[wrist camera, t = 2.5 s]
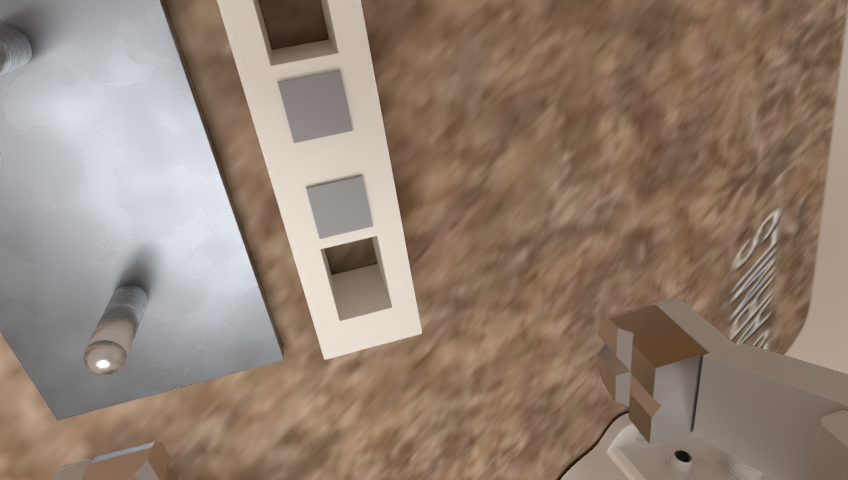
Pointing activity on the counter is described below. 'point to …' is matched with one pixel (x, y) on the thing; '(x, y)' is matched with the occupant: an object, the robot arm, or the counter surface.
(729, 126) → the counter surface
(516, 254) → the counter surface
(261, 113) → the power strip
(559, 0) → the counter surface
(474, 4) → the counter surface
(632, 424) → the robot arm
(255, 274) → the mounting plate
